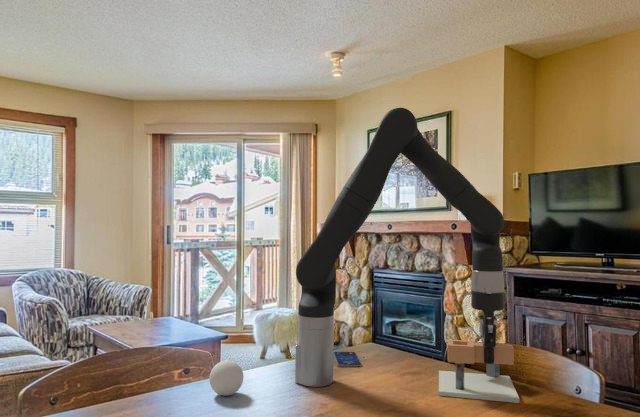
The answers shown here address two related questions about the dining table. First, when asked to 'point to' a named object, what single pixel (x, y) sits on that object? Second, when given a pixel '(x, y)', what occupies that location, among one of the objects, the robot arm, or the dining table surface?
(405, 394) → the dining table surface
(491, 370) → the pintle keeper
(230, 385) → the ball
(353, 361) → the smartphone
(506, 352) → the link
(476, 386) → the board
